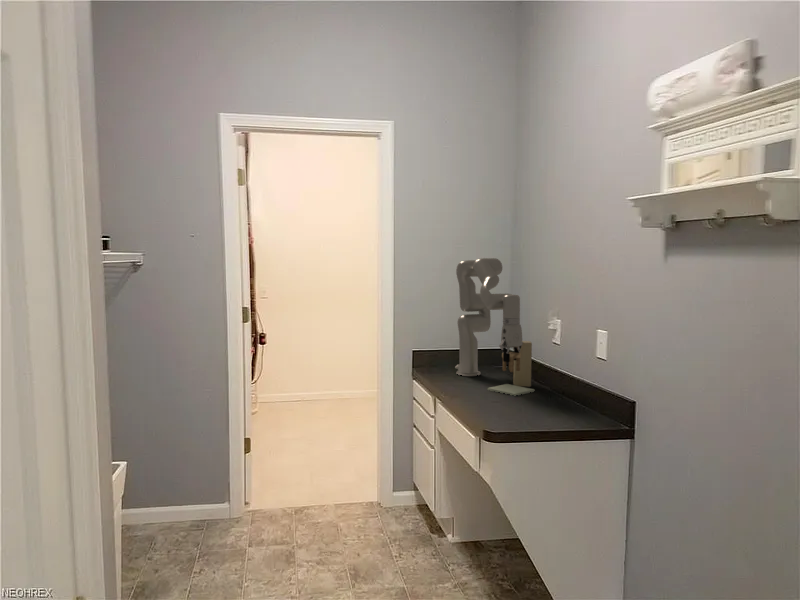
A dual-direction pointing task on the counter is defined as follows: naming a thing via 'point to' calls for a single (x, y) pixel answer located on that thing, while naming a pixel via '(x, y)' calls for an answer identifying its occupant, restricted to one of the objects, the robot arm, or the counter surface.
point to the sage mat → (511, 389)
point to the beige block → (523, 366)
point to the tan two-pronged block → (512, 362)
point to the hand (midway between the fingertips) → (511, 360)
